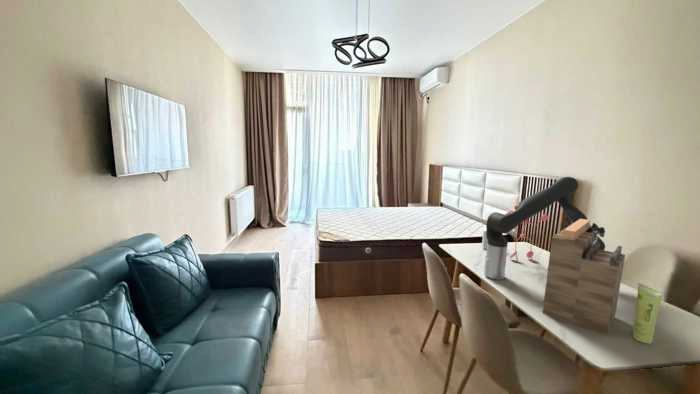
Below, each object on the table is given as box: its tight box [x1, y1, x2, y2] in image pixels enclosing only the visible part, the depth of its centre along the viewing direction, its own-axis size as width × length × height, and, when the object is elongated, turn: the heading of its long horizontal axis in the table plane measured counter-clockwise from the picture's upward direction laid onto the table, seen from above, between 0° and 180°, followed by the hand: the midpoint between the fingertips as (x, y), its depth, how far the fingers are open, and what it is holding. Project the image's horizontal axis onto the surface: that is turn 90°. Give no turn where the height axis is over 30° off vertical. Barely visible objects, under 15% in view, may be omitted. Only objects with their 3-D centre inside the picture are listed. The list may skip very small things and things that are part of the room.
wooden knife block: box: [542, 228, 626, 336], centre depth 117 cm, size 18×20×32 cm
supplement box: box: [481, 227, 488, 250], centre depth 197 cm, size 7×7×13 cm
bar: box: [563, 219, 591, 241], centre depth 121 cm, size 26×4×4 cm, turn 132°
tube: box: [632, 282, 664, 344], centre depth 104 cm, size 6×5×20 cm
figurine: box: [504, 201, 549, 263], centre depth 178 cm, size 15×26×35 cm, turn 94°
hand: (581, 223), depth 126 cm, fingers open, 7 cm apart
